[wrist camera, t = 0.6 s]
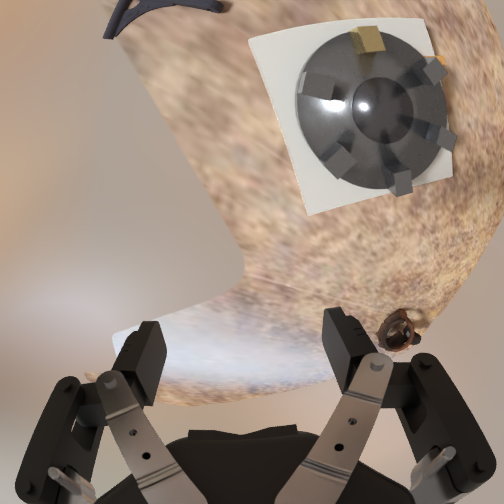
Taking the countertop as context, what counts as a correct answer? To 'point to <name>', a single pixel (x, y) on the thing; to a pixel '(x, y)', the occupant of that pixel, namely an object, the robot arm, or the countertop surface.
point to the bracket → (147, 3)
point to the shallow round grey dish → (373, 109)
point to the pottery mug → (397, 340)
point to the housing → (283, 101)
